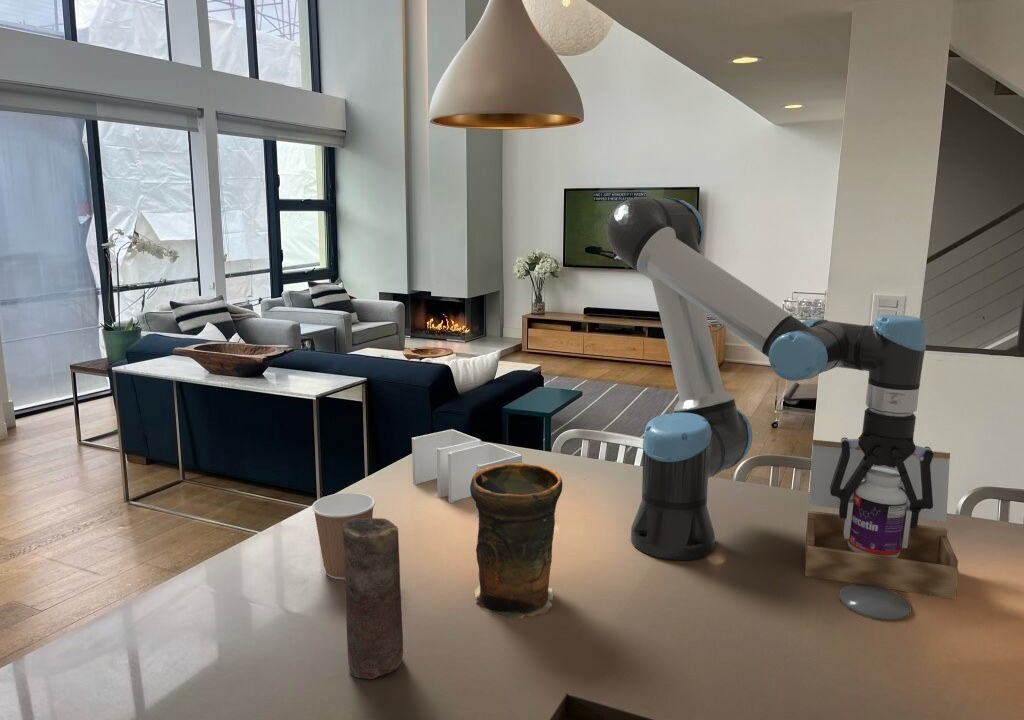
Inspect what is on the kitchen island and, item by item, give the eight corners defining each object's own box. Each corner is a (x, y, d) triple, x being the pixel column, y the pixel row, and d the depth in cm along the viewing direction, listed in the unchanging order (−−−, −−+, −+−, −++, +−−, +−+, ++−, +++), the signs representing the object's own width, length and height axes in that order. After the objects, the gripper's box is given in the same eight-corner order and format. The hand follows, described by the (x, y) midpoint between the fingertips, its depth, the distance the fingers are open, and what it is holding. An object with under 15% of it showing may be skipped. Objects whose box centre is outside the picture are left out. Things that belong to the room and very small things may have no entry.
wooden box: (805, 575, 126) (808, 536, 124) (805, 546, 137) (808, 510, 135) (954, 599, 118) (960, 557, 117) (941, 566, 129) (946, 528, 128)
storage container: (521, 505, 157) (522, 455, 155) (480, 518, 150) (479, 466, 148) (452, 474, 176) (452, 429, 174) (412, 484, 169) (411, 437, 167)
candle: (352, 649, 104) (346, 513, 100) (405, 647, 105) (401, 512, 101) (344, 683, 96) (338, 537, 93) (401, 680, 97) (397, 535, 93)
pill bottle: (836, 545, 130) (845, 466, 127) (874, 540, 132) (883, 462, 129) (872, 566, 122) (882, 483, 119) (910, 560, 125) (921, 478, 122)
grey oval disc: (840, 612, 114) (841, 609, 114) (838, 583, 123) (838, 580, 123) (914, 625, 110) (915, 621, 110) (906, 594, 119) (906, 590, 119)
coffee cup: (389, 563, 130) (387, 498, 128) (352, 589, 121) (350, 519, 118) (341, 552, 134) (338, 488, 132) (302, 577, 125) (298, 509, 123)
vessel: (572, 581, 123) (573, 466, 119) (547, 627, 110) (547, 499, 106) (490, 568, 128) (488, 457, 124) (457, 611, 115) (454, 488, 111)
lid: (813, 439, 137) (812, 439, 138) (808, 504, 136) (808, 504, 136) (950, 453, 129) (949, 453, 130) (946, 522, 128) (945, 521, 129)
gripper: (821, 409, 122) (808, 538, 127) (968, 423, 115) (948, 560, 120) (820, 398, 129) (808, 521, 134) (959, 411, 122) (940, 541, 126)
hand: (874, 540), depth 127 cm, fingers closed on pill bottle, 8 cm apart
